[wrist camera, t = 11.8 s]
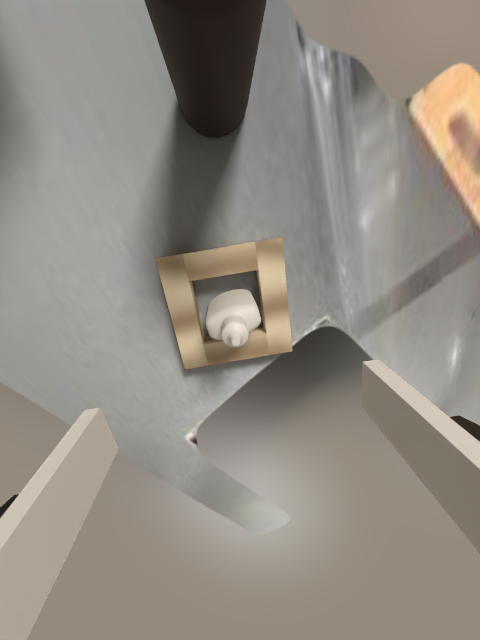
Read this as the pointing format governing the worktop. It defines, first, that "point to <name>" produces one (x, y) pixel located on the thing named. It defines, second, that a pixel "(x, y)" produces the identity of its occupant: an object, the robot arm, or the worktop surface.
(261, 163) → the worktop surface
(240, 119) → the vinegar
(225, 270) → the square wooden frame
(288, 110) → the worktop surface
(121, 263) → the worktop surface
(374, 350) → the worktop surface
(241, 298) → the eye dropper bottle
